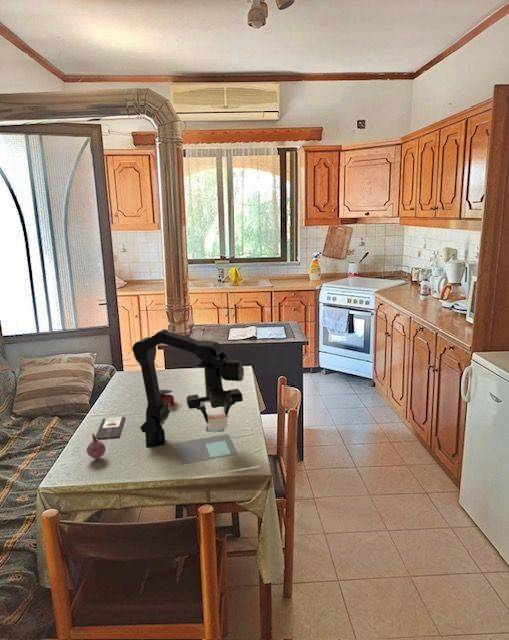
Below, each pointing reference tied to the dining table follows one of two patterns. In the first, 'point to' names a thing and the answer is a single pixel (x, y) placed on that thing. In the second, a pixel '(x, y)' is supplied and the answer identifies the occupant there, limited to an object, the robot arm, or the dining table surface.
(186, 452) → the mat
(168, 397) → the canned food
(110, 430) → the chocolate bar
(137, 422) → the dining table surface
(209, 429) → the smartphone
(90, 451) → the vegetable
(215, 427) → the card box
